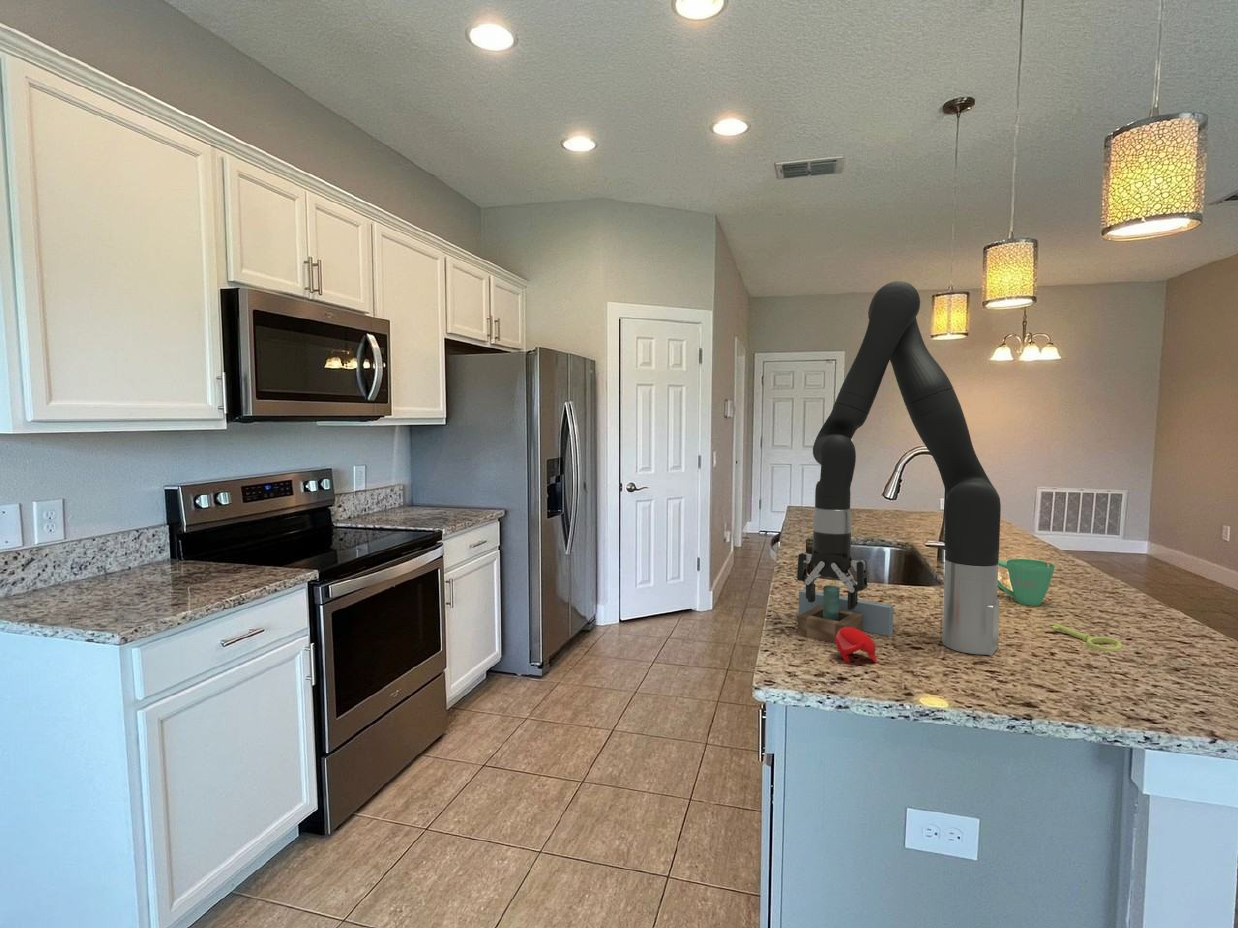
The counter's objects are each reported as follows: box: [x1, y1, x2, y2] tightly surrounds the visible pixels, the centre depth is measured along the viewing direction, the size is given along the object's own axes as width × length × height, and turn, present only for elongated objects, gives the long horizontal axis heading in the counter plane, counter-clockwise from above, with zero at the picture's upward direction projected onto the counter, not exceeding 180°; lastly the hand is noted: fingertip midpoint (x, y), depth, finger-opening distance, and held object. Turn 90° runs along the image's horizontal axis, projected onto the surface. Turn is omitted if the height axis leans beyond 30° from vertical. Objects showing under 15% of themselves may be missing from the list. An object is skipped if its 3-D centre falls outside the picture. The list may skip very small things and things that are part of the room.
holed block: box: [797, 605, 864, 644], centre depth 131 cm, size 10×10×4 cm
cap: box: [835, 627, 878, 664], centre depth 117 cm, size 8×6×6 cm
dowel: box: [822, 584, 841, 621], centre depth 131 cm, size 3×3×10 cm
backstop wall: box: [798, 589, 894, 637], centre depth 137 cm, size 20×2×6 cm, turn 49°
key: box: [1049, 623, 1124, 652], centre depth 126 cm, size 7×12×2 cm, turn 40°
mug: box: [997, 558, 1056, 607], centre depth 155 cm, size 15×10×10 cm
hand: (830, 605), depth 131 cm, fingers open, 8 cm apart
